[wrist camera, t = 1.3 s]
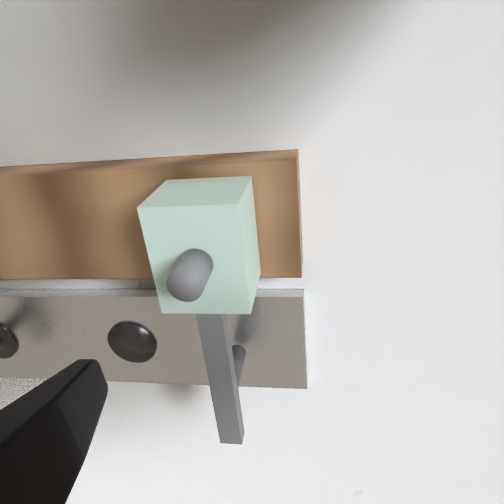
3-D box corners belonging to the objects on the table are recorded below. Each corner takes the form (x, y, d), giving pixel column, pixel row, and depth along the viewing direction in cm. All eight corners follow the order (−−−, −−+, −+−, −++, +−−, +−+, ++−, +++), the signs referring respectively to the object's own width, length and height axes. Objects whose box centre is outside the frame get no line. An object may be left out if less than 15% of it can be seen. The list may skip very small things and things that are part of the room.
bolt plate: (303, 289, 23) (303, 298, 22) (307, 379, 26) (307, 390, 25) (-43, 289, 27) (-55, 297, 26) (-3, 368, 30) (-12, 377, 29)
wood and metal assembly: (298, 149, 19) (291, 190, 14) (307, 373, 26) (304, 458, 21) (-102, 172, 23) (-225, 212, 18) (-6, 363, 30) (-74, 432, 25)
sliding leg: (254, 169, 19) (229, 222, 13) (274, 389, 25) (263, 483, 20) (172, 174, 19) (117, 225, 14) (212, 386, 26) (185, 477, 20)
